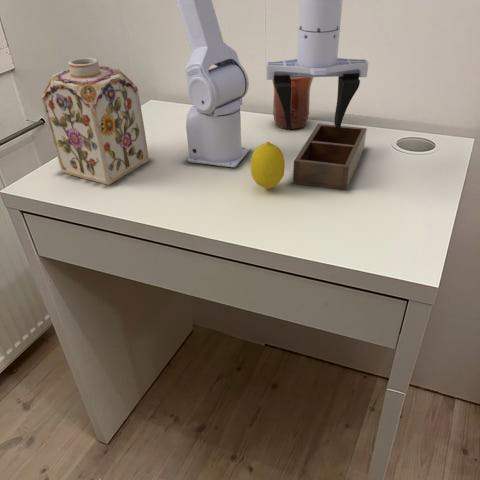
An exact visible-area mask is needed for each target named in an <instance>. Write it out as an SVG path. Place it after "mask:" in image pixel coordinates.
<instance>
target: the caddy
mask: <svg viewBox="0 0 480 480" xmlns="http://www.w3.org/2000/svg"><path fill="white" fill-rule="evenodd" d="M367 130H368V129H367V128H366V127H357V126H349V125H347V126H346V125H341V128H336V127H335V124H327V123H325V124H324V123H318V124H317V125H316V126H315V128H314V129H313V131H312V132H311V133H310V136H309V137H308V139H307V140H306V142H305V143H304V144H303V146H302V147H301V149H300V151H299V152H298V154H297V156H296V157H295V158H294V160H293V171H292V184H295V185H302V186H309V187H319V188H327V189H333V190H341V191H347V189H348V187H349V185H350V183H351V181H352V178H353V176H354V173H355V171H356V169H357V166H358V164H359V162H360V159H361V157H362V155H363V152H364V150H365V144H366V137H367Z"/></svg>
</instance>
